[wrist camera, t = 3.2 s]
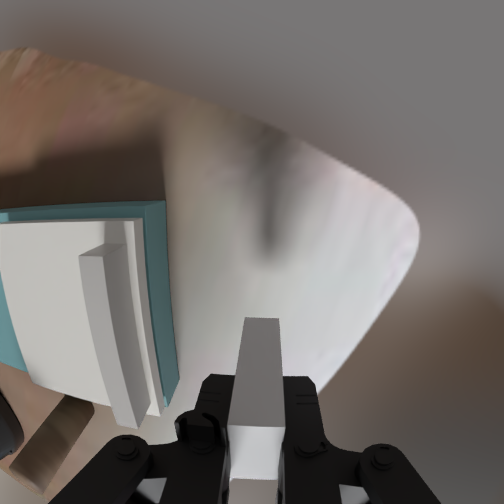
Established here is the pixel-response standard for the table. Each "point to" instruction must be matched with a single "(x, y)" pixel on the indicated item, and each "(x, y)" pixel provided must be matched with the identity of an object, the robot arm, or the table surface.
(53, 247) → the cover
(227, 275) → the table surface
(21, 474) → the peg
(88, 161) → the table surface
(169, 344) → the board
